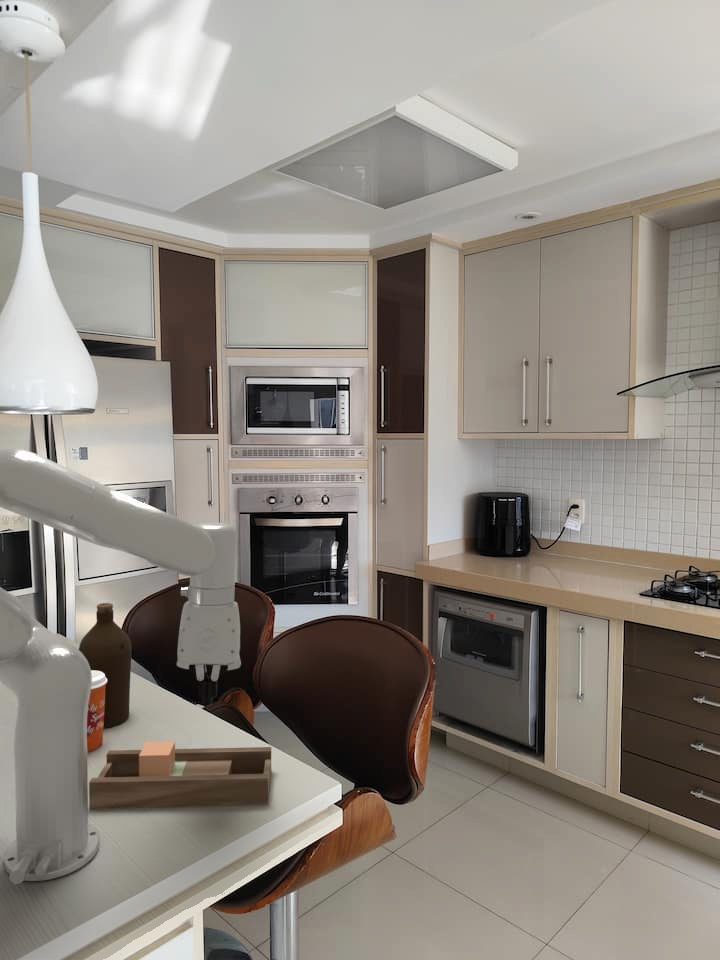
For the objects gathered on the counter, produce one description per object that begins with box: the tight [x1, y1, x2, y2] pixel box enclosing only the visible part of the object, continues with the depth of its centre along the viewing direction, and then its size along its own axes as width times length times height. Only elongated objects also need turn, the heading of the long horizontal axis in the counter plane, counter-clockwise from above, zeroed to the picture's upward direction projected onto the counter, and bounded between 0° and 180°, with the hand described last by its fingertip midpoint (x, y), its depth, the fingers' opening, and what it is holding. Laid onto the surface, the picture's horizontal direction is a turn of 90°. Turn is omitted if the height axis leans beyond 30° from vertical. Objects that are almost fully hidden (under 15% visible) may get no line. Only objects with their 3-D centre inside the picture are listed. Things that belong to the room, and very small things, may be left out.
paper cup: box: [87, 670, 107, 753], centre depth 130 cm, size 8×8×14 cm
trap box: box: [88, 746, 272, 810], centre depth 115 cm, size 11×29×4 cm, turn 95°
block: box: [139, 741, 176, 777], centre depth 115 cm, size 5×5×4 cm
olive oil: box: [78, 602, 133, 729], centre depth 141 cm, size 11×11×25 cm
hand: (207, 701), depth 114 cm, fingers closed
